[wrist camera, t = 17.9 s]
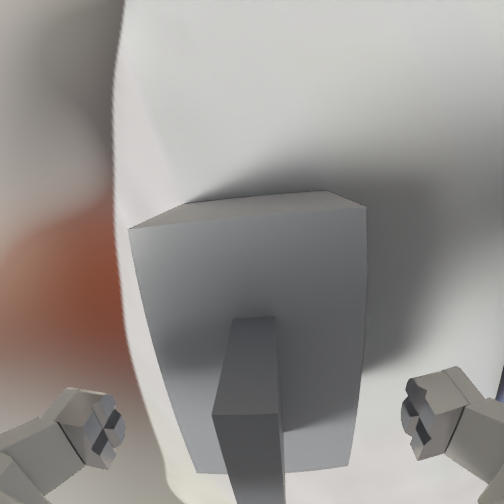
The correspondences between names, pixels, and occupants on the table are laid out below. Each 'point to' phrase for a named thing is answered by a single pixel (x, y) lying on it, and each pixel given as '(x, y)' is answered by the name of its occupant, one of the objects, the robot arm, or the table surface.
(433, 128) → the table surface
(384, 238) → the table surface
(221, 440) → the gray hook block
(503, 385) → the small box
